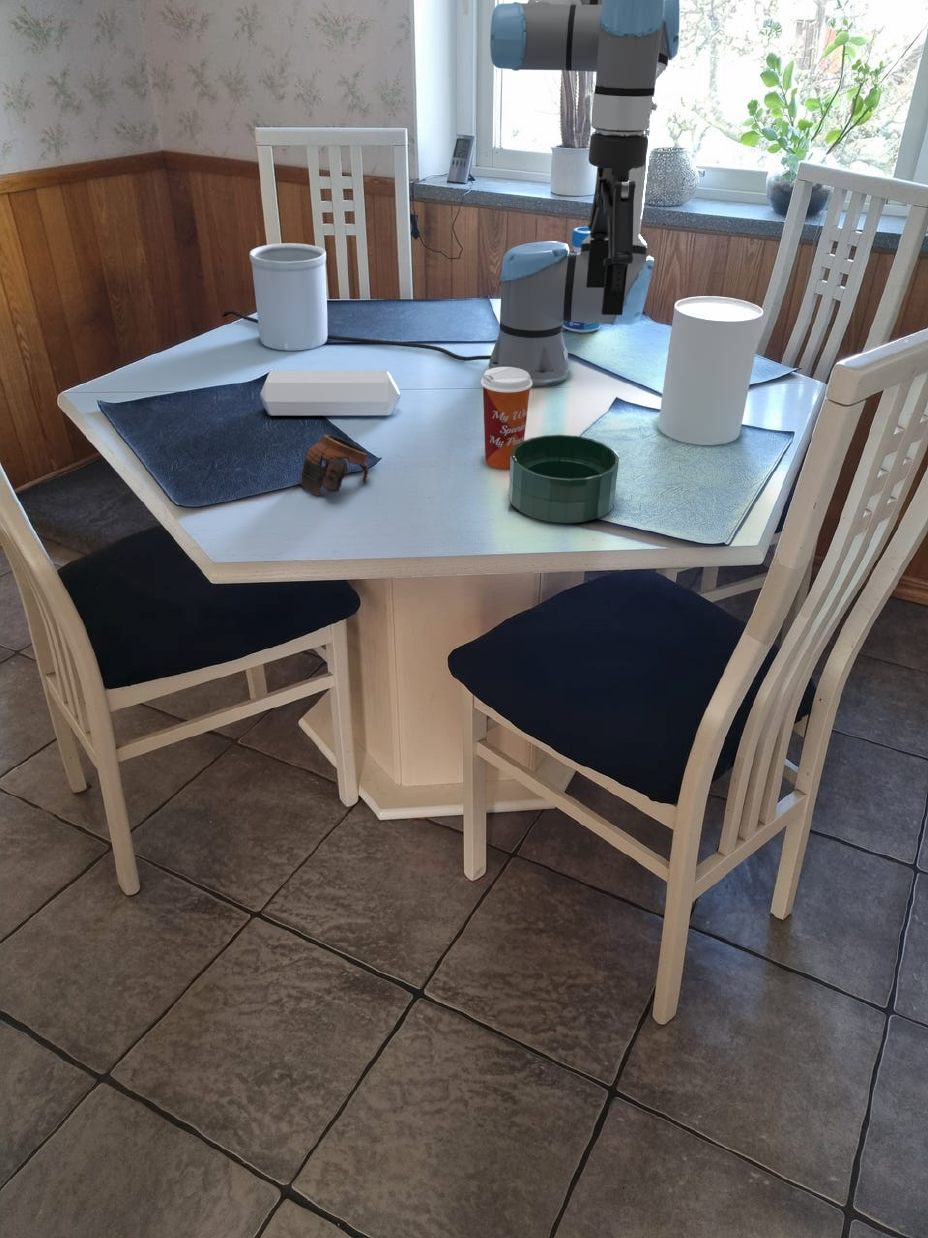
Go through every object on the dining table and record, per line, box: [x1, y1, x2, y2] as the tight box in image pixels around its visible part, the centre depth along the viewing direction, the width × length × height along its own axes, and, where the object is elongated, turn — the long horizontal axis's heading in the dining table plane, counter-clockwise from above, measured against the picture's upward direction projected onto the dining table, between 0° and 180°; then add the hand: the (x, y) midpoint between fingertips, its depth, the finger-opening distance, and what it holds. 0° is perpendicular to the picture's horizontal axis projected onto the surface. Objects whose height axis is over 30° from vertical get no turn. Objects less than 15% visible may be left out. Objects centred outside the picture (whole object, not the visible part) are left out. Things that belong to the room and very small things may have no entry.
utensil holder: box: [249, 242, 328, 352], centre depth 188 cm, size 15×15×18 cm
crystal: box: [259, 370, 401, 416], centre depth 161 cm, size 7×7×24 cm
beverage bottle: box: [562, 226, 601, 334], centre depth 197 cm, size 8×8×20 cm
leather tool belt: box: [299, 433, 369, 496], centre depth 136 cm, size 12×10×8 cm
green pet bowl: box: [508, 434, 620, 524], centre depth 133 cm, size 15×15×7 cm
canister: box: [657, 295, 764, 446], centre depth 152 cm, size 14×14×20 cm
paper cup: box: [480, 367, 533, 470], centre depth 141 cm, size 8×8×14 cm
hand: (603, 300), depth 132 cm, fingers open, 13 cm apart
